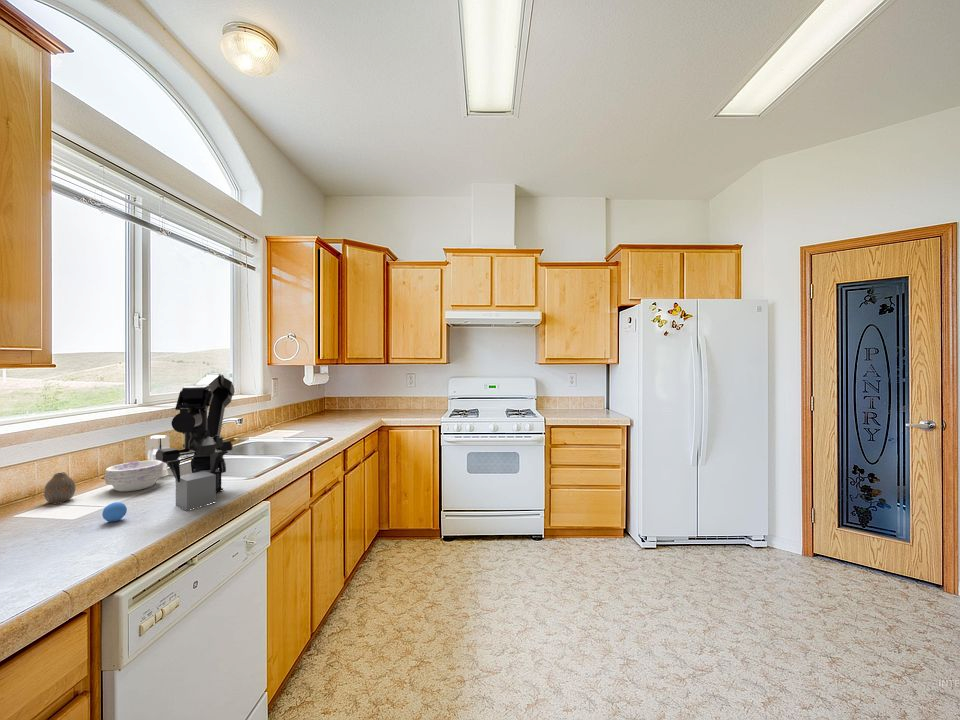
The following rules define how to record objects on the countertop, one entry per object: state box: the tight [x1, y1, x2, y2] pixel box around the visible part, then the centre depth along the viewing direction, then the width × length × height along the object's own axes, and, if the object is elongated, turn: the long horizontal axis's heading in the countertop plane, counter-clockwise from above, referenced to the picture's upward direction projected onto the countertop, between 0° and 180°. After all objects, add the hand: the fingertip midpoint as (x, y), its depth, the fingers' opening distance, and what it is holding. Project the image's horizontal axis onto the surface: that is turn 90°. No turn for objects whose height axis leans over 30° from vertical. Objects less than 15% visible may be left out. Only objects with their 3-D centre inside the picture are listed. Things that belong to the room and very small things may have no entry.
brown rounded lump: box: [43, 472, 76, 504], centre depth 127 cm, size 7×7×9 cm
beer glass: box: [146, 434, 171, 478], centre depth 155 cm, size 7×7×15 cm
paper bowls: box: [104, 460, 163, 492], centre depth 141 cm, size 15×15×8 cm
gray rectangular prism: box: [175, 471, 217, 511], centre depth 125 cm, size 8×8×9 cm
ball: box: [101, 501, 128, 523], centre depth 112 cm, size 5×5×5 cm
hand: (196, 478), depth 125 cm, fingers open, 9 cm apart
